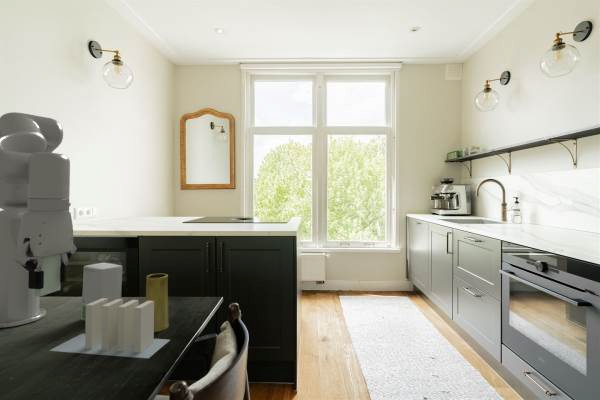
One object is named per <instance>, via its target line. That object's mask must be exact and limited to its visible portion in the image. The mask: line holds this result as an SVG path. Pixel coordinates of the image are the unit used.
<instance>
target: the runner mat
mask: <svg viewBox="0 0 600 400" xmlns="http://www.w3.org/2000/svg"><path fill="white" fill-rule="evenodd" d="M170 341H171V339H165V338H163V339H162V338H154V343H152V344H151V345H150V346H149V347H147V348H146V349H145V350H143V351H142V352H141V353H137V352H134V345H132V346H131V347H130V348H128V349H127V350H125V351H117V347H118V344H117V345H115V346H113V347H112V348H110V349H109V350H101V344H99V345H98V346H96V347H94V348H93V349H85V333H80V334H78V335H77V336H75V337H73V338H72V337H71V338H70V339H69V340H66V341H65V342H63V343H61V344H58V345H57V346H55V347H54V348H53V347H52V348H51V349H49V351H50V352H60V353H72V354H73V353H74V354H84V355H86V354H87V355H98V356H99V355H101V356H112V357H113V356H114V357H123V358H137V359H150V358H151V357H152V356H153V355H154V354H156V353H157V352H158V351H159V350H161V349H162V347H164V346H165V345H166V344H168V343H169V342H170Z"/></svg>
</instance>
